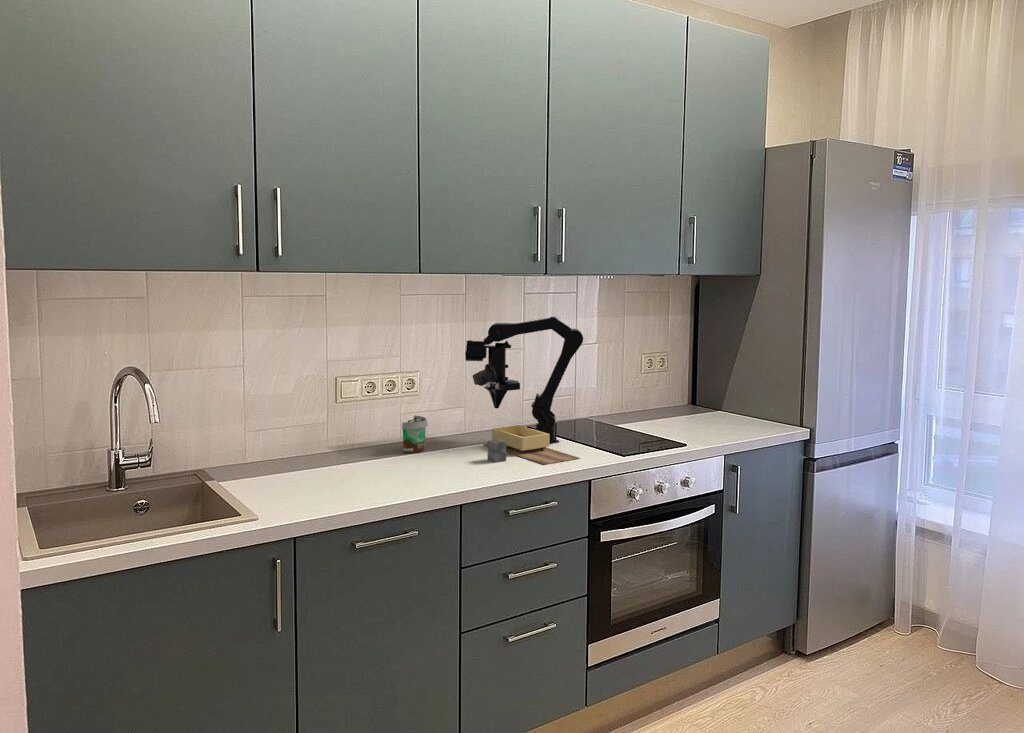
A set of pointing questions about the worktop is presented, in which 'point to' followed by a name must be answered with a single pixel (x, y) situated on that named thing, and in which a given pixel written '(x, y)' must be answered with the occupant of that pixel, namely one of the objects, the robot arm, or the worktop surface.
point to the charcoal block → (496, 451)
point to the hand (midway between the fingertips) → (496, 408)
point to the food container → (414, 435)
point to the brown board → (541, 455)
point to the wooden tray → (521, 437)
